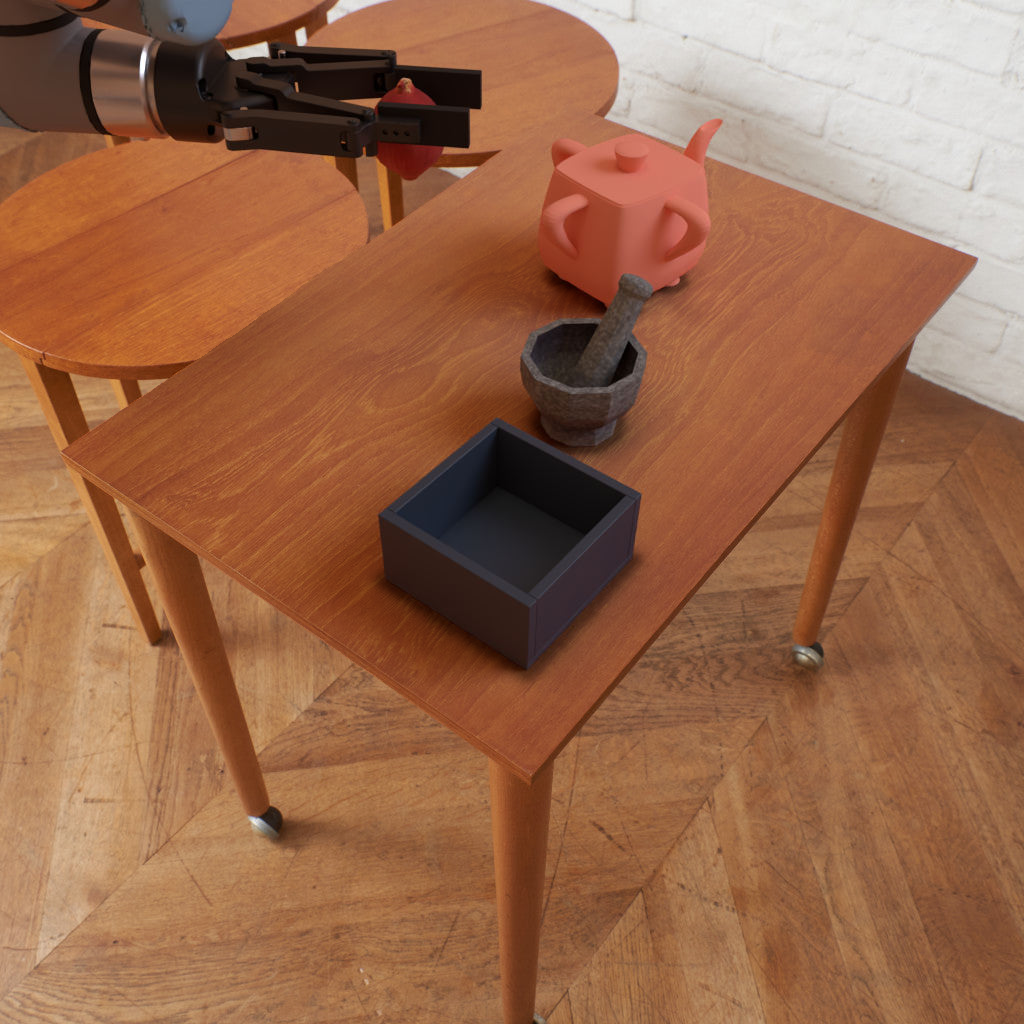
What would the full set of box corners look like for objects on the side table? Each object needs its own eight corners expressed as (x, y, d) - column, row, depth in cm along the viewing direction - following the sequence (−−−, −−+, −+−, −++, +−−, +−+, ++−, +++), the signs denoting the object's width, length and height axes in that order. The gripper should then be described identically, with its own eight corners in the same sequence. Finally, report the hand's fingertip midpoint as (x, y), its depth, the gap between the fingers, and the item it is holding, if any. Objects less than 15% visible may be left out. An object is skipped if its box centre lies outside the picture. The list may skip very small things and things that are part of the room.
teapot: (536, 321, 95) (542, 189, 86) (537, 229, 106) (542, 102, 97) (720, 327, 95) (746, 195, 86) (702, 233, 106) (724, 107, 97)
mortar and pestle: (571, 479, 81) (581, 354, 72) (496, 416, 86) (496, 293, 77) (674, 419, 86) (694, 296, 78) (596, 363, 91) (608, 242, 82)
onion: (365, 166, 83) (356, 64, 77) (436, 156, 84) (432, 56, 79) (382, 202, 79) (373, 98, 73) (455, 191, 80) (453, 88, 75)
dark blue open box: (526, 670, 69) (529, 607, 64) (384, 579, 74) (377, 514, 69) (632, 558, 76) (642, 493, 71) (496, 481, 81) (496, 416, 76)
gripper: (217, 84, 88) (491, 102, 86) (136, 195, 75) (457, 220, 73) (199, -11, 82) (491, 7, 81) (109, 92, 70) (455, 116, 68)
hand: (474, 108), depth 77 cm, fingers closed on onion, 6 cm apart
